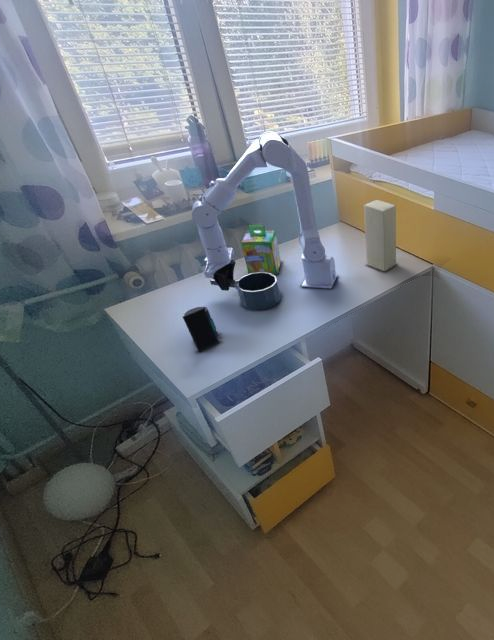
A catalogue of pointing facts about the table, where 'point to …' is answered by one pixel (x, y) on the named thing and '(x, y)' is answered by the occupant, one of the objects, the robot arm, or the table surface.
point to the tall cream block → (380, 234)
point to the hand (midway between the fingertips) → (227, 287)
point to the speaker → (201, 327)
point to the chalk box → (261, 250)
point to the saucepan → (256, 290)
